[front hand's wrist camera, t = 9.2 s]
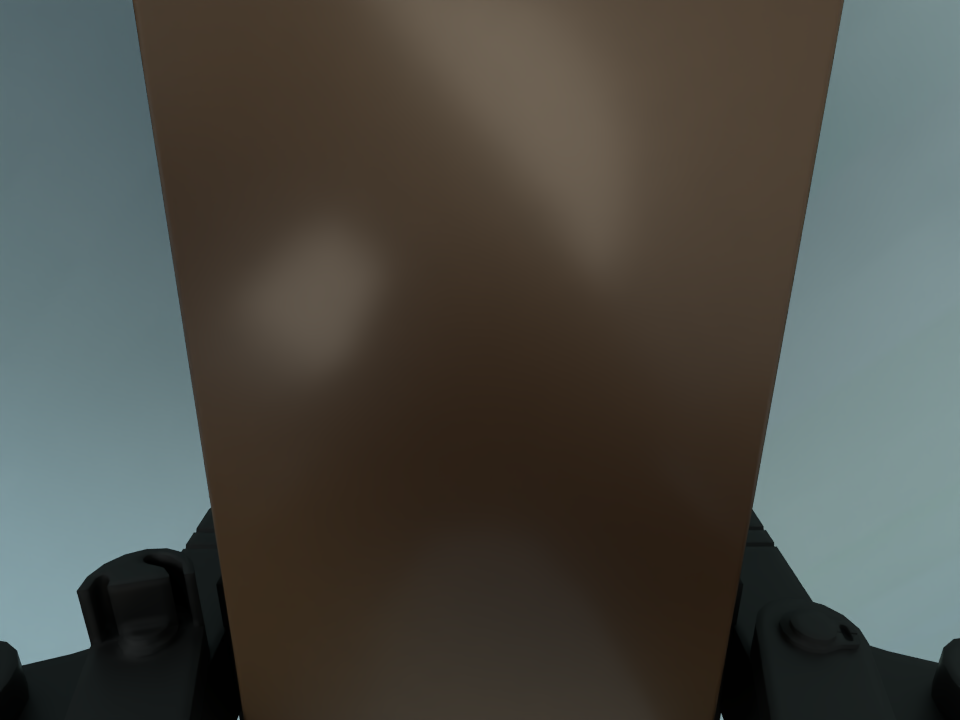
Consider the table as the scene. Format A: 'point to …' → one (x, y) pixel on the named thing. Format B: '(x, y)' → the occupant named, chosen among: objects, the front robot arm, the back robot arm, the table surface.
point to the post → (483, 335)
